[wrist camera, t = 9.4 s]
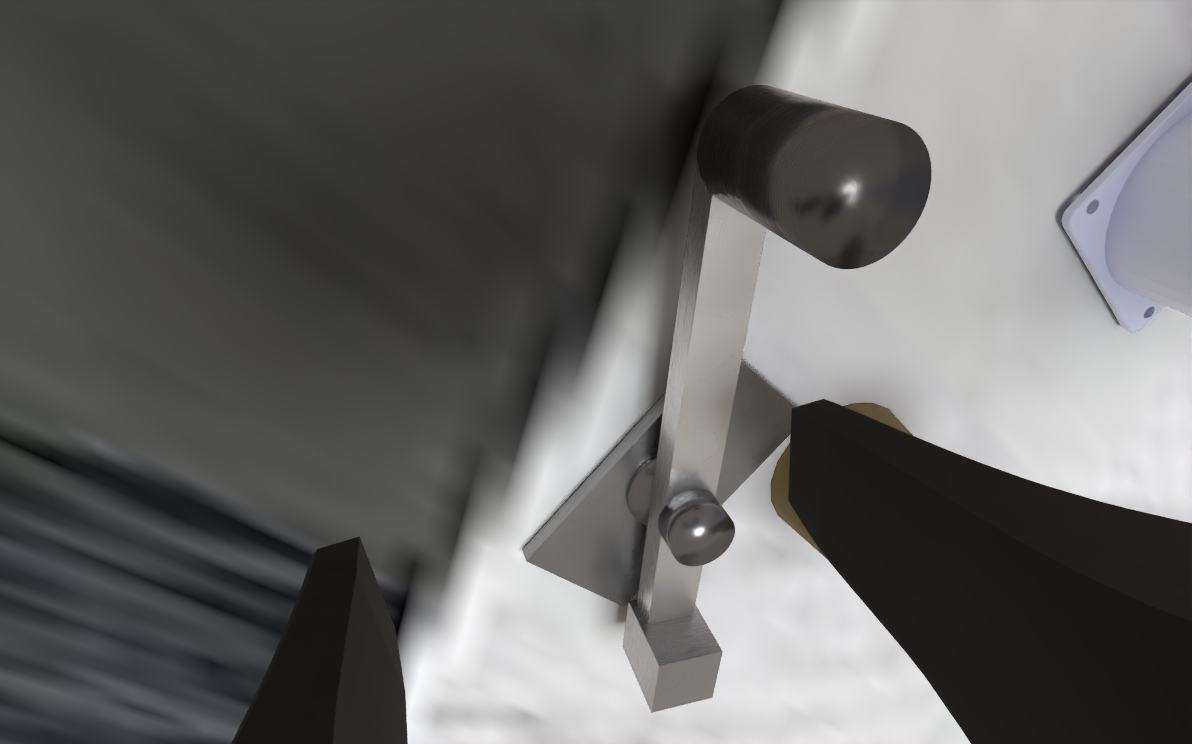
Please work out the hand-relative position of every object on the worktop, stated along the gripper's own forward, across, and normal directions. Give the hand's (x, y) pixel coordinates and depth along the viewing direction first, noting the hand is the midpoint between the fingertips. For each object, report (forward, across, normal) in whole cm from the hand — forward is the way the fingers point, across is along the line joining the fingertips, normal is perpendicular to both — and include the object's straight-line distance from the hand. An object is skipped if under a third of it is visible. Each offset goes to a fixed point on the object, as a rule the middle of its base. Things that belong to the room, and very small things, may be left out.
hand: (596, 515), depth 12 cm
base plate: (+10, -5, +9) cm, 15 cm away
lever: (+9, -6, +6) cm, 12 cm away
